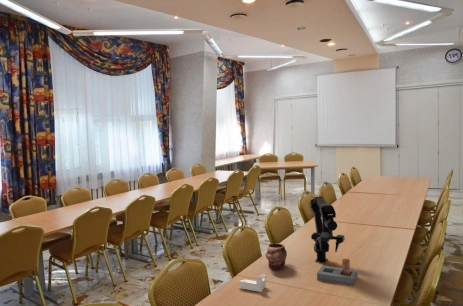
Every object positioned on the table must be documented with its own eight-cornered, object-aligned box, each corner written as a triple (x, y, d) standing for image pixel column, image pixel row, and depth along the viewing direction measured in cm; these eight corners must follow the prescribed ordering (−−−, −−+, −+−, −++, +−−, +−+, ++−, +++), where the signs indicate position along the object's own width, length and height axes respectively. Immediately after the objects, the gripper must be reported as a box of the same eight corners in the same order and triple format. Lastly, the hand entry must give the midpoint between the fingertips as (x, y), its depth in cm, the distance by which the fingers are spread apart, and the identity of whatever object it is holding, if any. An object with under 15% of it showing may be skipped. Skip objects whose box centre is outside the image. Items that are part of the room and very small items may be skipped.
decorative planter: (274, 259, 234) (273, 239, 233) (292, 262, 228) (291, 241, 227) (262, 270, 217) (261, 248, 216) (280, 274, 210) (279, 251, 209)
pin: (341, 278, 197) (341, 260, 196) (343, 275, 200) (342, 258, 200) (349, 279, 195) (348, 261, 194) (350, 276, 199) (350, 259, 198)
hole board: (322, 271, 210) (322, 265, 210) (357, 277, 201) (357, 270, 200) (317, 279, 200) (316, 273, 200) (353, 285, 190) (353, 278, 190)
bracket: (265, 289, 194) (266, 275, 195) (260, 291, 188) (261, 277, 189) (244, 285, 200) (244, 272, 201) (238, 287, 194) (239, 273, 195)
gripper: (308, 228, 207) (309, 253, 208) (340, 231, 198) (341, 258, 199) (313, 223, 217) (314, 247, 218) (344, 225, 208) (345, 251, 209)
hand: (328, 251), depth 211 cm, fingers open, 9 cm apart
